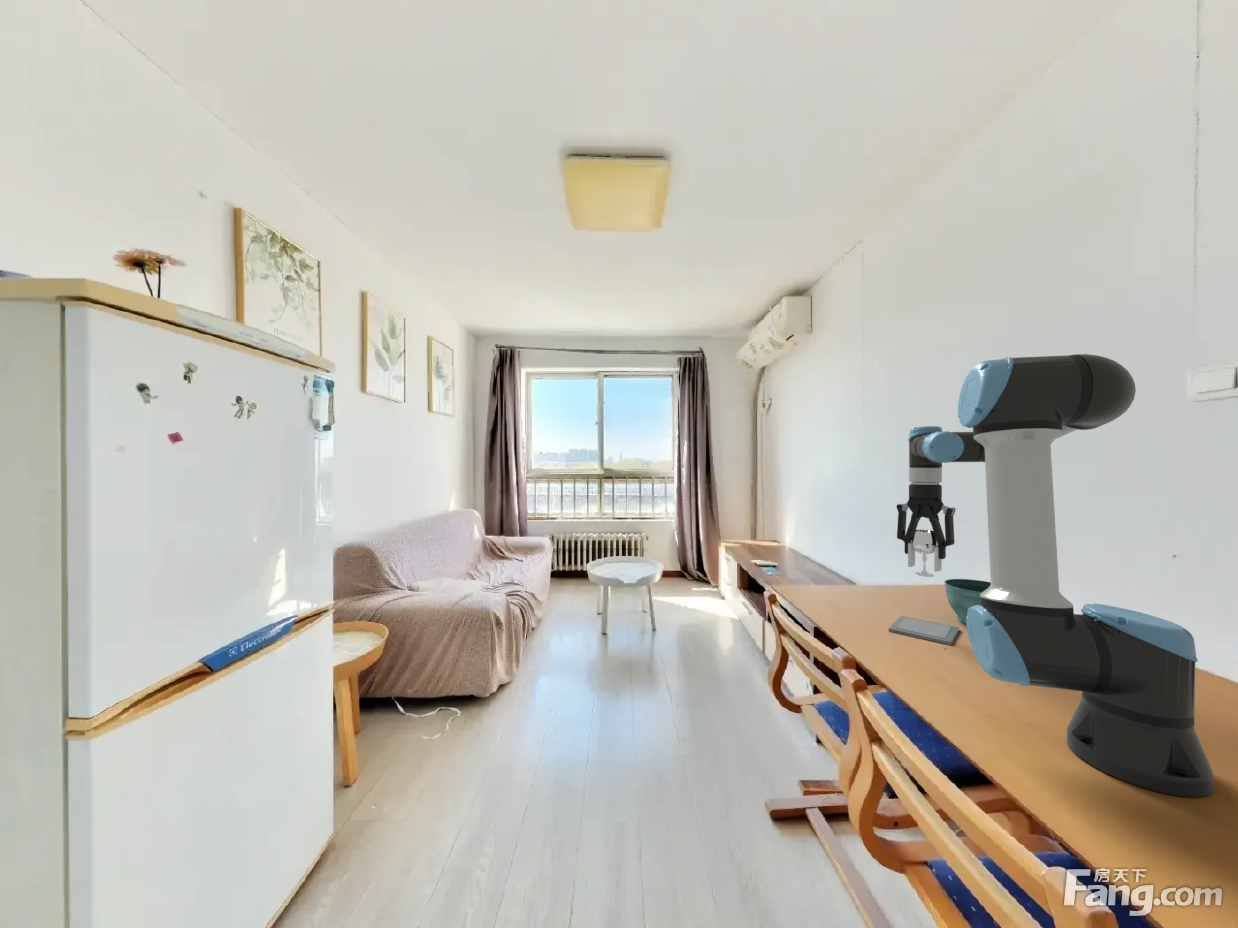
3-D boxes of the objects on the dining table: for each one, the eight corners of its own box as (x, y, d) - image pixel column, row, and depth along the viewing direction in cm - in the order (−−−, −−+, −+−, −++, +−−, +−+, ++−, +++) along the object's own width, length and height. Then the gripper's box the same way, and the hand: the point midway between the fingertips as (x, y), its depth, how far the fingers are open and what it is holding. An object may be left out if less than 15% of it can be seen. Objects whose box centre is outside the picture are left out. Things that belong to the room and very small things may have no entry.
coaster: (951, 645, 117) (951, 641, 117) (888, 631, 127) (888, 627, 127) (959, 630, 128) (959, 626, 128) (901, 618, 137) (901, 615, 137)
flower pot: (951, 610, 144) (952, 575, 144) (1020, 623, 133) (1020, 585, 132) (937, 622, 134) (937, 585, 133) (1010, 638, 122) (1010, 597, 122)
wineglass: (939, 574, 127) (939, 530, 127) (935, 578, 123) (935, 533, 123) (914, 571, 131) (914, 528, 131) (909, 575, 127) (909, 531, 126)
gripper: (971, 484, 121) (970, 572, 122) (894, 481, 136) (893, 560, 137) (961, 485, 117) (960, 577, 117) (882, 482, 132) (882, 563, 132)
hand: (924, 568), depth 127 cm, fingers closed on wineglass, 6 cm apart
